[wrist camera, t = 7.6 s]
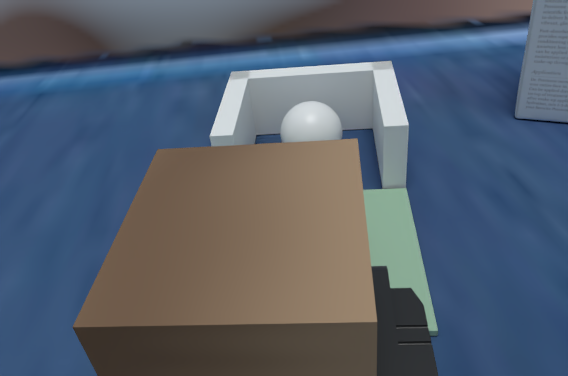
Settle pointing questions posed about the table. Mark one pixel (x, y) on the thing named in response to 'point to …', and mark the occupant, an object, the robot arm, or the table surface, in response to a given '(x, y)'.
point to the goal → (328, 90)
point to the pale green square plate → (397, 244)
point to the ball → (311, 123)
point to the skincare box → (545, 64)
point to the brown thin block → (239, 267)
